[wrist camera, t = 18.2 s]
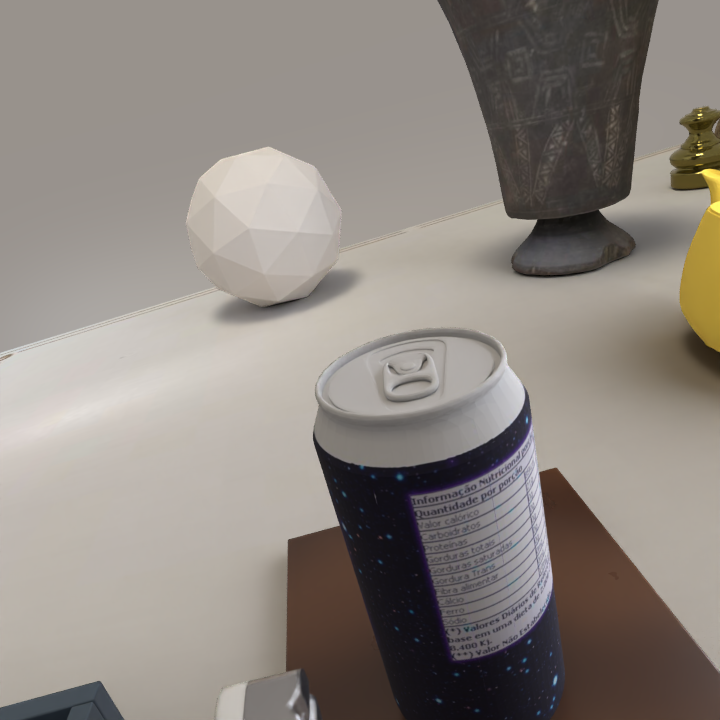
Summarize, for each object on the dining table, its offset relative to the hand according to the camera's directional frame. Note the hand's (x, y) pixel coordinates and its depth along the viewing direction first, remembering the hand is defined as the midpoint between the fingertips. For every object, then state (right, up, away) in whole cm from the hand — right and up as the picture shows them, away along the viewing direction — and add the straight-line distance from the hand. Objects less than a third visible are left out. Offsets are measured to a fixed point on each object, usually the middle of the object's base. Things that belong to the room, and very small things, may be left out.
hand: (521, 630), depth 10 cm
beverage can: (+1, -6, +9) cm, 10 cm away
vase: (+21, +16, +51) cm, 57 cm away
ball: (-13, +13, +64) cm, 67 cm away
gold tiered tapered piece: (+45, +30, +68) cm, 86 cm away
